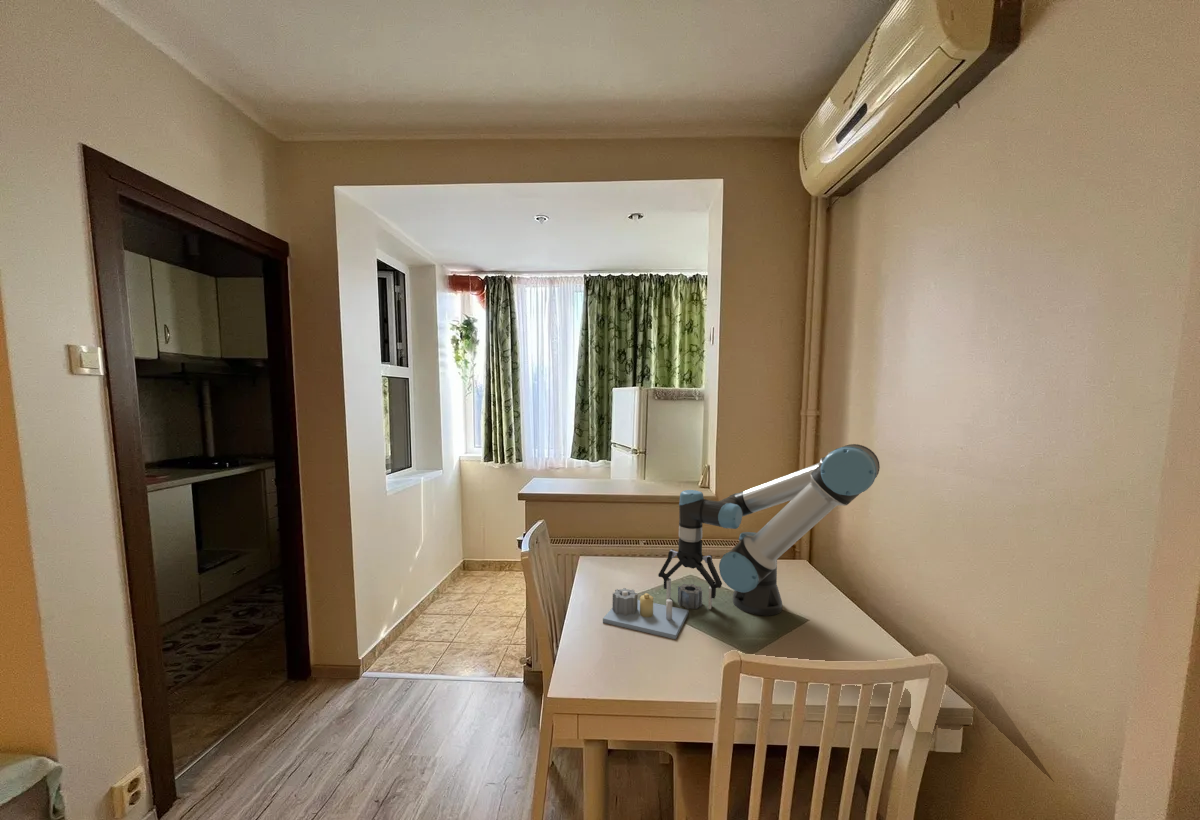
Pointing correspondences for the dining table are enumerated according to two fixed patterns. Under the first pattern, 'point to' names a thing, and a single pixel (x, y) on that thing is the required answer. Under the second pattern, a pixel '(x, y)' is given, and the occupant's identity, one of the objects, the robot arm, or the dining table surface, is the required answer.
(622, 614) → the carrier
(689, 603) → the gear
